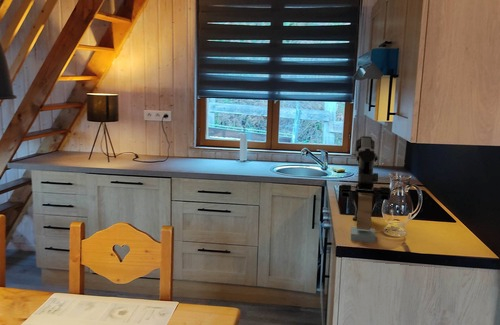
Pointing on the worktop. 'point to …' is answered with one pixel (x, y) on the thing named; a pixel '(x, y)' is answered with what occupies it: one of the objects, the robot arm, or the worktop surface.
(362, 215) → the walnut pillar
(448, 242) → the worktop surface
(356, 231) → the base block
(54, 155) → the worktop surface
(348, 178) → the worktop surface
